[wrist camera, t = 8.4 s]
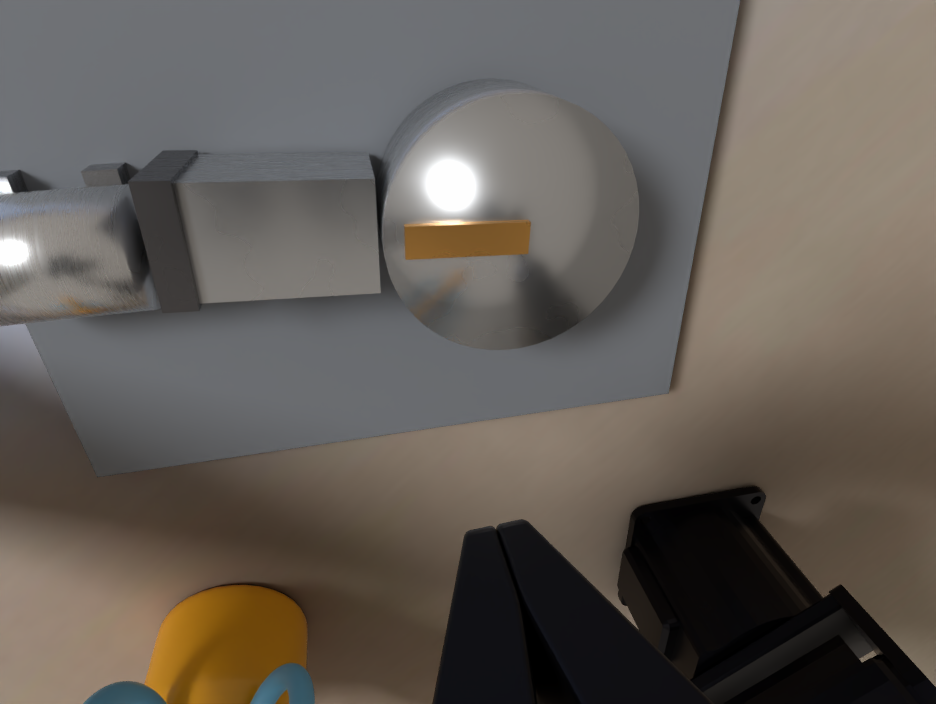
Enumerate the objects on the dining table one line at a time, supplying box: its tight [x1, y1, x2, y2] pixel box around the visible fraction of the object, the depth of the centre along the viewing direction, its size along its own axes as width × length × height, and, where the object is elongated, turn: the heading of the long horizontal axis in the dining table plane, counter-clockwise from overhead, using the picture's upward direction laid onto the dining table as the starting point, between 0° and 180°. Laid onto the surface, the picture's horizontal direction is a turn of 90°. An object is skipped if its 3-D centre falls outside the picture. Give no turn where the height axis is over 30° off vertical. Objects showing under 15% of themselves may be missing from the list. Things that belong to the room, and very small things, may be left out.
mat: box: [0, 0, 740, 477], centre depth 17 cm, size 20×15×1 cm
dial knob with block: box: [128, 78, 639, 350], centre depth 15 cm, size 12×6×3 cm, turn 88°
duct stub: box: [0, 162, 161, 326], centre depth 14 cm, size 4×3×3 cm
